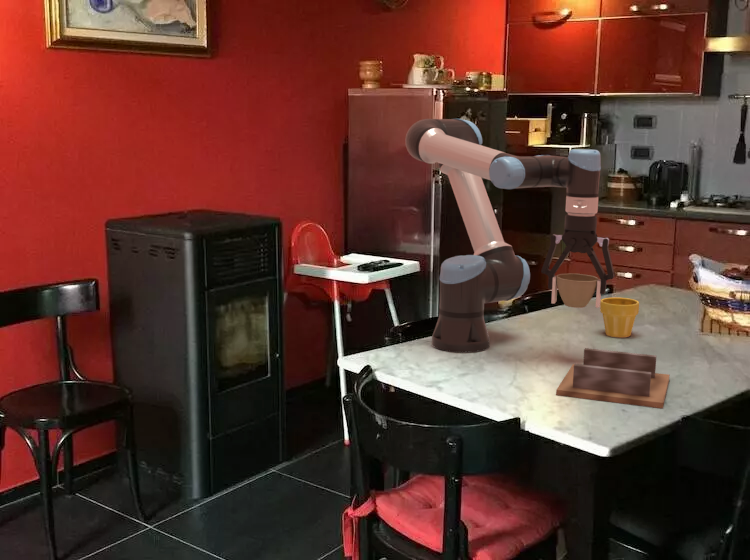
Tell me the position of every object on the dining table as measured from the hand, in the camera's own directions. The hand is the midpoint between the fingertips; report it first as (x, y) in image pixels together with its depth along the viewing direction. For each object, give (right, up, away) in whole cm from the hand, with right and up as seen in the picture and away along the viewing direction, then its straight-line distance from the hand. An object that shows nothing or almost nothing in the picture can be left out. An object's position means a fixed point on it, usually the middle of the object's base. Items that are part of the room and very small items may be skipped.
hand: (575, 304), depth 210 cm
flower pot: (0, 0, 0) cm, 1 cm away
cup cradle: (+4, -18, -18) cm, 26 cm away
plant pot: (+19, -10, +29) cm, 36 cm away
